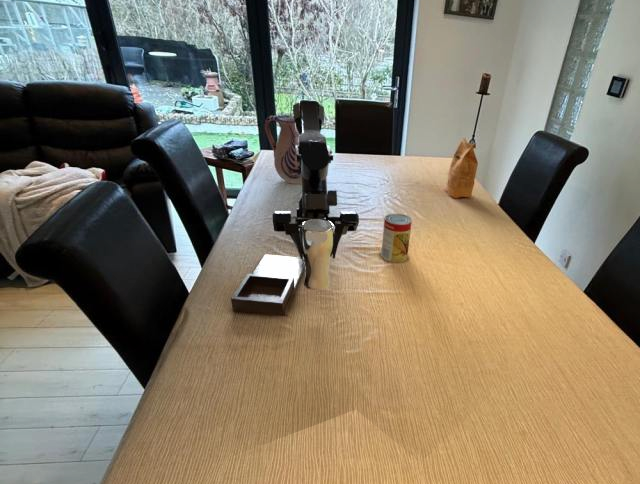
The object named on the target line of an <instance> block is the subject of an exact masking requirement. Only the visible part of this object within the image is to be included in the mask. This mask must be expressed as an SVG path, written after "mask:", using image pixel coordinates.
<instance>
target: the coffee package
mask: <svg viewBox="0 0 640 484" xmlns="http://www.w3.org/2000/svg"><path fill="white" fill-rule="evenodd" d="M476 148H477V145H475V143H470V142H467V140H466V138H463V137H462V139H461V141H460V143H459V144H458V146H457V147H456V150H455V152H454V154H453V156H452V159H451V163H450V166H449V168H448V169H449V170H448V172H447V181H446V187H445V192H447V194H448V196H450V197H452V198H453V199H458V198H469V197H472V195H473V190H474V186H475V183H476V181H475V180H476V177H477V169H478V165H479V163H478V159H477V155H476V153H475V150H474V149H476Z"/></svg>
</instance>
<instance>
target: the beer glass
mask: <svg viewBox="0 0 640 484" xmlns="http://www.w3.org/2000/svg"><path fill="white" fill-rule="evenodd" d="M333 246H334V226H333V224H332V223H331V222H330V221H328V220H324V219H309V220H306V221H304V222H303V227H302V252H303V258H304V263H305V270H304V271H305V274H304V279H303V285H304V287H305V288H306V289H308V290H311V291H314V292H320V291H325V290H327V289H328V288H329V287H330V286H331V279H330V265H331V261H332V259H333V255H332V253H333Z"/></svg>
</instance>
